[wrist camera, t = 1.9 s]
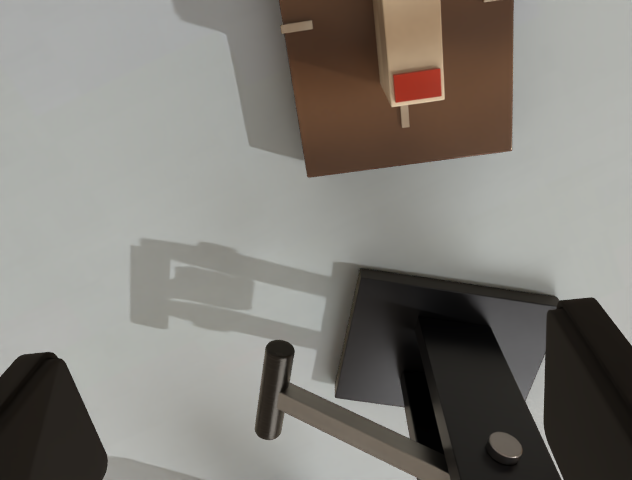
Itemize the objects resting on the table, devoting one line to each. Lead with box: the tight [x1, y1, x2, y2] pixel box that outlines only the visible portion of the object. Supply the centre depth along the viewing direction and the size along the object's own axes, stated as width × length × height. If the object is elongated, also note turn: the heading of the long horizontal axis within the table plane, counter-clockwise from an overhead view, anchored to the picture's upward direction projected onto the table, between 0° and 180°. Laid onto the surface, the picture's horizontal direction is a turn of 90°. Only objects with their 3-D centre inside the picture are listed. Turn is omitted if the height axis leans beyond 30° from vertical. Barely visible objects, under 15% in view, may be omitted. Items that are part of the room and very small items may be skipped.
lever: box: [255, 340, 451, 480], centre depth 26 cm, size 13×6×2 cm, turn 81°
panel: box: [279, 0, 514, 178], centre depth 24 cm, size 14×10×3 cm
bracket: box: [335, 268, 561, 480], centre depth 28 cm, size 12×9×13 cm
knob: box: [373, 0, 445, 107], centre depth 21 cm, size 6×2×5 cm, turn 8°
